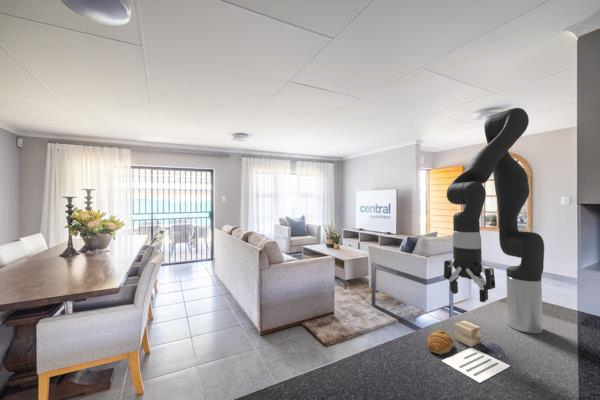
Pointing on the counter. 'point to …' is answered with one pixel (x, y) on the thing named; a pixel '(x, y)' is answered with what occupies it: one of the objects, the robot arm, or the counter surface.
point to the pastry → (440, 342)
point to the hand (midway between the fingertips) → (468, 297)
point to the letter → (475, 364)
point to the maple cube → (467, 333)
